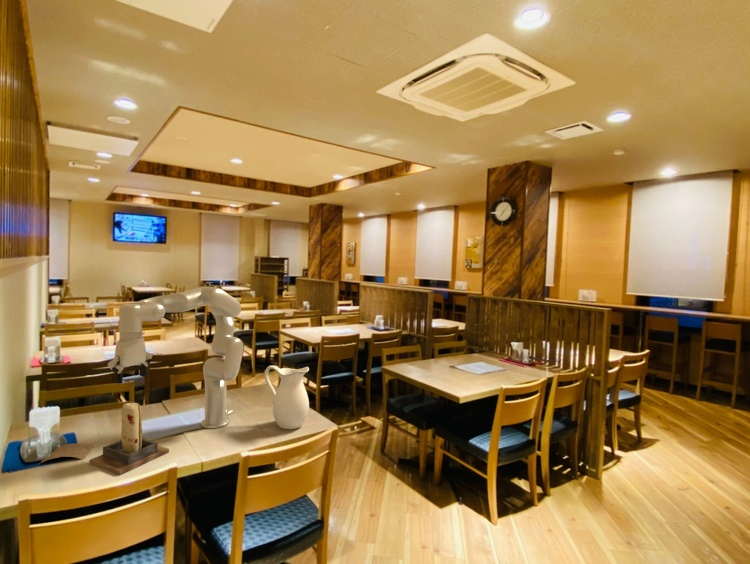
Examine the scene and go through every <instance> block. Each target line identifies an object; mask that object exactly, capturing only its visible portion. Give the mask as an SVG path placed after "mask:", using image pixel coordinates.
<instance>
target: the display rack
mask: <svg viewBox="0 0 750 564" xmlns="http://www.w3.org/2000/svg"><path fill="white" fill-rule="evenodd" d="M169 453H170V448H168V447H165V446H162V445H159V444H158V442H154V441H151V440H148V439H145V438H142V444H141V449H140V450H138V451H136V452H133V453H131V454H127V453H124V451H123V445H122V439H120V440H118V441H115V442H114V443H113V442H112V443H110V444H108V445H106V446H103V447H102V454H100V455H97V456H95V457H93V458H90V459H89V460H88V462H89V465H92V466H94V467H97V468H100V469H102V470H105V471H108V472H110V473H113V474H116V475H119V476H121V475H122V476H123V475H124V474H126V473H128V472H130V471H132V470H135V469H136V468H139V467H141V466H143V465H145V464H148V463H149V462H152V461H154V460H155V459H158V458H160V457H162V456H164V455H166V454H169Z"/></svg>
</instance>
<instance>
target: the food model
mask: <svg viewBox="0 0 750 564" xmlns="http://www.w3.org/2000/svg"><path fill="white" fill-rule="evenodd" d="M121 409H122V412H121V440H122V445H123V451H124V453H127V454H131V453H133V452H136V451H138V450H140V449H141V444H142V439H143V437H142V436H143V435H142V434H143V424H142V422H143V420H142V417H143V415H142V408H141V405H140V403H138V402H127V403H124V404H123V406H122V408H121Z"/></svg>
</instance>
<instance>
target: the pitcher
mask: <svg viewBox="0 0 750 564" xmlns="http://www.w3.org/2000/svg"><path fill="white" fill-rule="evenodd" d="M270 370H274V371H275V372H276V373H277V374H278V376H279V378H280V383H279V386H278V388H277V390H275V388H274V386H273V384H272V383H271V381H270V377H269V372H270ZM309 371H310V368H309V366H305V367H303V368H298V369H293V368H289V367H286V368H285V367H283V368H280V367H279V366H278V365H269V366H267V367H266V369H264V375H263V376H264V380H265V383H266V385H267V387H268V388H269V390H270V391H271V394H272V396H273V401H272V413H273V418H274V420H275V422H276V424H277V426H278V427H279V428H281V429H283V430H296V429H299V428H301V427H302V426H304V424H305V422H306V421H307V418H308V414H309V409H310V401H309V396H308V395H309V394H308V392H307V390H306V387H305V384H304V380H303V379H304V378H303V377H304V376H305V374H306V373H308V372H309Z"/></svg>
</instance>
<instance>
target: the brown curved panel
mask: <svg viewBox="0 0 750 564" xmlns="http://www.w3.org/2000/svg"><path fill="white" fill-rule="evenodd" d="M59 447H60V448H59ZM59 447H58V448H59V449H57V448H56V449H57V450H56V451H55V452H53V453H52V454H51V455H50V456H49V457H47V456H46V457H47V458H46V457H45V458H46V459H45V458H44V459H45V460H44V459H43V460H42V461H40V462H41V463H40V462H39V463H38V465H40V464H42V463H43V462H46V461H48V460H52V459H57V458H61V457H68V458H69V457H70V458H71V457H72V458H75V459H76V458H77V459H80V460H85V459H86V458H87V456H88V455H89V454H90V453H91V451H92V450H93V449H94V448H95V447H94V445H91V444H88V443H82V442H81V443H68V444H67V443H66V444H64V445H61V446H59Z"/></svg>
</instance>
